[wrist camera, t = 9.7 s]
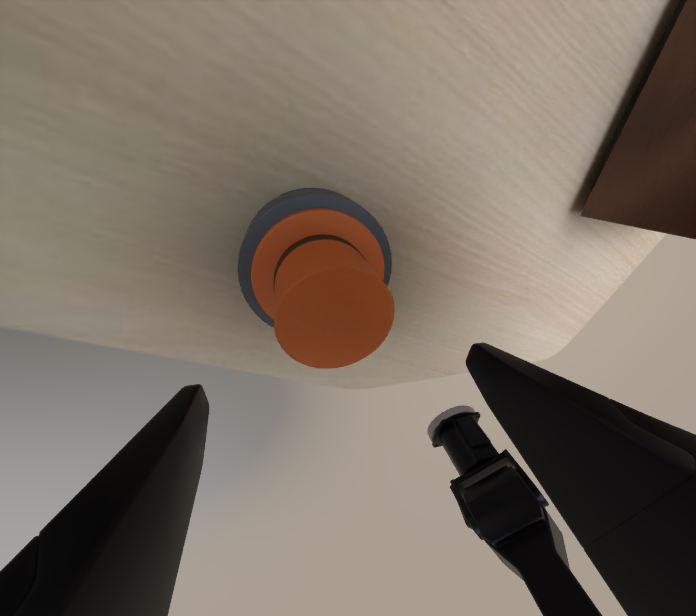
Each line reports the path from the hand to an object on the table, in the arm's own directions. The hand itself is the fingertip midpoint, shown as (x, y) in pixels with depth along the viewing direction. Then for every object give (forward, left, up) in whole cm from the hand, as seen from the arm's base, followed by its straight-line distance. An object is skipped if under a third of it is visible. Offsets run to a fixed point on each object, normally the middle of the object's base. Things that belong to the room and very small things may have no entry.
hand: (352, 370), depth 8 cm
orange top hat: (0, 0, -8) cm, 8 cm away
